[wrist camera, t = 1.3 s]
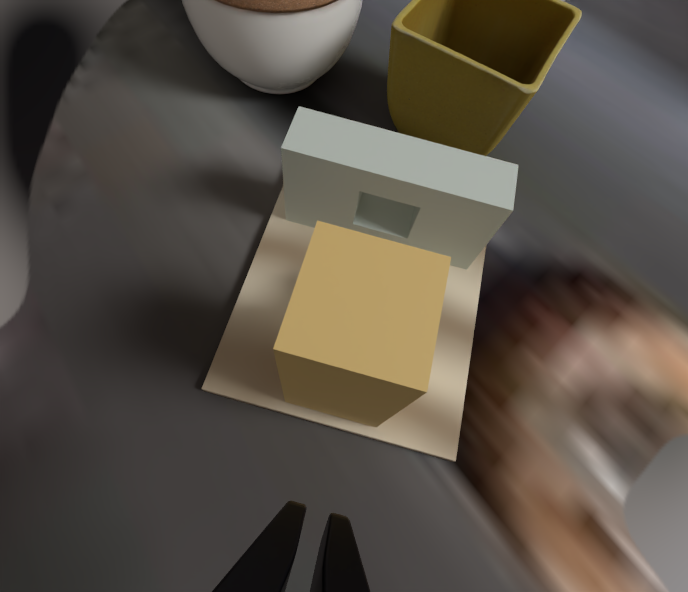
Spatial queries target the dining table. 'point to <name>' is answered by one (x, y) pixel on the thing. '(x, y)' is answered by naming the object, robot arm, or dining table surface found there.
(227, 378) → the board
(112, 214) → the dining table surface
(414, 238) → the wall
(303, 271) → the block
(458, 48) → the flower pot
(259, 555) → the robot arm
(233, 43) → the lidded bowl
